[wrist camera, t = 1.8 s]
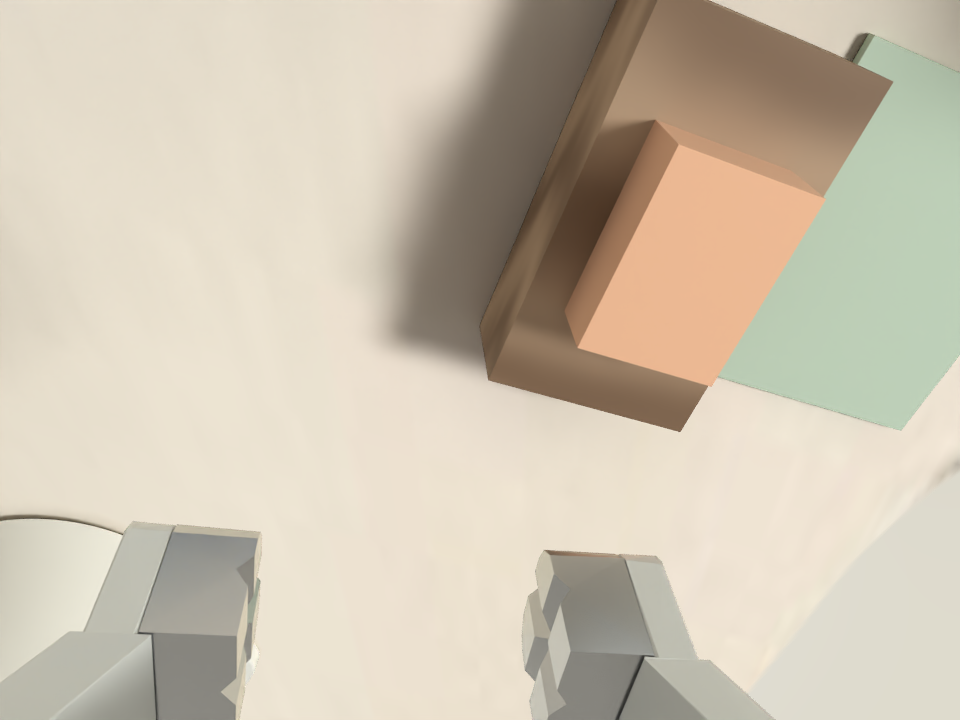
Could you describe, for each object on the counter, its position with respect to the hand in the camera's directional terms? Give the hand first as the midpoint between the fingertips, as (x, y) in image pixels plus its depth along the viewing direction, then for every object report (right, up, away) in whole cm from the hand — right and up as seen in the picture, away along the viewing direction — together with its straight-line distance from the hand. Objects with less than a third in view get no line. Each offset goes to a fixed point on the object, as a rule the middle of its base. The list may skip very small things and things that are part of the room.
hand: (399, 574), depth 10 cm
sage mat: (+17, +7, +22) cm, 29 cm away
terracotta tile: (+7, +7, +17) cm, 20 cm away
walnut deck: (+7, +9, +20) cm, 23 cm away
